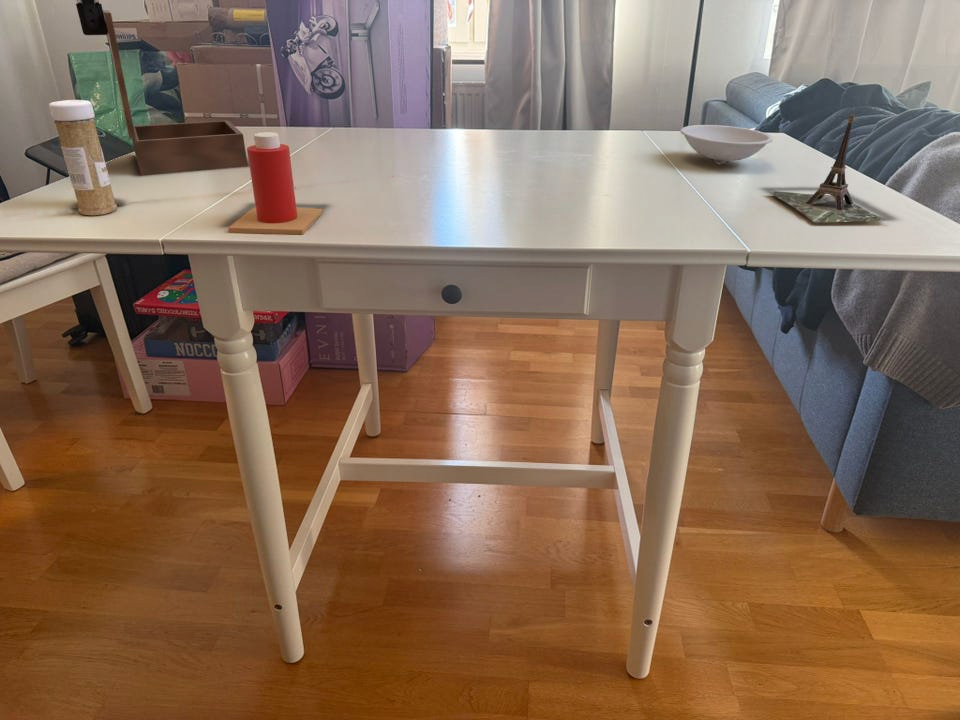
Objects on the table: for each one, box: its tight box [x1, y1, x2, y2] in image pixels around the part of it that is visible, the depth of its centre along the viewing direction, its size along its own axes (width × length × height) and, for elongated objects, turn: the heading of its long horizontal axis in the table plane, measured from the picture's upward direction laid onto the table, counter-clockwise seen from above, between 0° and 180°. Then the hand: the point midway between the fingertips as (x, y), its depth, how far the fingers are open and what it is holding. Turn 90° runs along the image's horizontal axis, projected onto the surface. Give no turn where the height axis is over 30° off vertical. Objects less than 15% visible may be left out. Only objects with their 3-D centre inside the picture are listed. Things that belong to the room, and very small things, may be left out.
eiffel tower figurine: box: [768, 105, 888, 223], centre depth 89 cm, size 15×10×13 cm
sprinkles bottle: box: [48, 99, 118, 216], centre depth 84 cm, size 5×5×13 cm
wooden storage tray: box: [131, 119, 249, 176], centre depth 109 cm, size 16×15×6 cm
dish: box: [680, 124, 774, 165], centre depth 116 cm, size 18×14×5 cm
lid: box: [103, 9, 136, 139], centre depth 100 cm, size 16×15×1 cm
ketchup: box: [246, 131, 297, 223], centre depth 81 cm, size 5×5×10 cm
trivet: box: [227, 206, 324, 235], centre depth 84 cm, size 9×9×1 cm
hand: (96, 34), depth 97 cm, fingers closed
